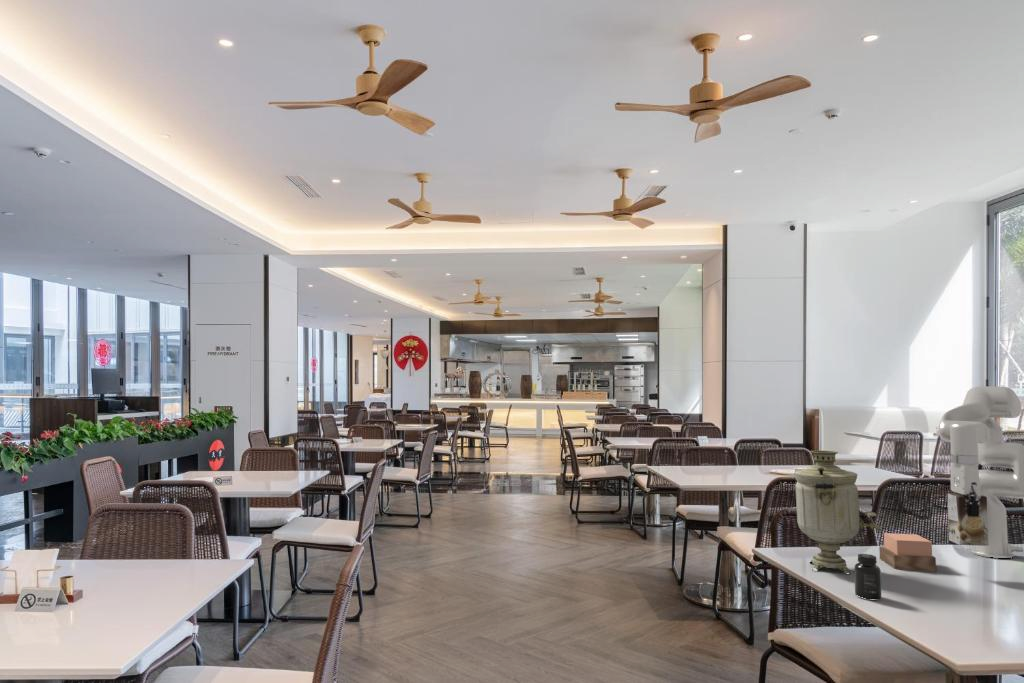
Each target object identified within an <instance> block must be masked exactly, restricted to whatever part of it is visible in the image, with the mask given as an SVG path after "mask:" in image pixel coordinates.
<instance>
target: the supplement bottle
mask: <svg viewBox="0 0 1024 683" xmlns="http://www.w3.org/2000/svg"><path fill="white" fill-rule="evenodd" d="M877 563H878V561H877V556H876V555H873V554H869V553H858V554H857V563H855V565H854V567H853V568H854V572H853V573H854V593H855V596H856V595H858V596H860V597H863V598H866V599H880V600H881V599H882V575H881V574H882V572H881V568H880V567H879V565H877ZM866 599H865V600H866Z"/></svg>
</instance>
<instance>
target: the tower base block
mask: <svg viewBox="0 0 1024 683" xmlns="http://www.w3.org/2000/svg"><path fill="white" fill-rule="evenodd" d="M878 548H879V550H878V551H879V560H880V559H881V560H880V561H882V562H883V561H884V562H883V563H885V564H887V566H890V567H891V568H892V569H894V570H905V569H909V570H910V571H923V570H928V571H927V572H937V562H936V561H937V558H936V557H935V556H934V555H932V557H930V556H909V555H897V554H895V553H893V552H892V551H890V550H888V549H887V548H885V547H884V546H882V545H879V547H878ZM909 570H908V571H909Z"/></svg>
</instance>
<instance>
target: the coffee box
mask: <svg viewBox="0 0 1024 683" xmlns="http://www.w3.org/2000/svg"><path fill="white" fill-rule="evenodd" d="M969 494H970V493H969ZM970 498H971V499H972V497H970ZM967 504H969V503H968V500H967V496H964V495H961V494H958V493H954V492H947V512H948V513H947V516H948V541H950V542H952V543H955V544H956V545H958V546H976V545H977V546H988V545H989V544H988V518H987V497H986V496H983V495H981V498H980V501H979V517H969V516H968V515H967Z"/></svg>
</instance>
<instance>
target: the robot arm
mask: <svg viewBox="0 0 1024 683" xmlns="http://www.w3.org/2000/svg"><path fill="white" fill-rule="evenodd" d="M1022 409H1023V408H1022V402H1021V400H1020V398H1019V397H1018V395H1017V393H1016V392H1015V391H1014V390H1013V389H1012V388H1010V387H1007V386H987V385H986V386H985V385H984V386H974V387H972V388H970V389H969V390H968V391H966V395H965V398H964V399H963V403H962V404H961V405H959V406H956V407H954V408H952V409H949V410H947V411H946V412H945V413H944V414H943V415H942V416H941V419H940V421H939V424H938V428H937V429H938V436H939V438H940V440H942V441H944V442H948V443H950V461H951V464H950V465H951V467H950V490H951V491H952V493H958V494H961V495H964V496H967V500H968V503H969V504H967V515H968V516H969V517H979V501H980V498H981V495H983V496H986V497H987V518H988V544H989V545H988V546H977V545H975V546H976V547H972V548H971V553H972V554H974V555H977V556H980V557H985V558H990V557H993V558H992V559H998V558H1011V559H1013V558H1014V552H1016V553H1018V552H1019V553H1023V552H1024V547H1023V546H1019V545H1018V546H1017V545H1016V546H1015V545H1011V544H1010V543H1009V541H1008V520H1007V509H1006V506H1005V505H1004V504H1003V503H1002V501H1001V500H1000V499H999V498H1000V497H1001V498H1010V499H1011V498H1012V499H1024V445H1023V444H1022V443H1018V442H1009V441H1008V442H1007V441H1003V434H1004V433H1003V431H1004V430H1003V429H1002V426H1001V425H1000V424H999V422H997V421H996V420H995V419H994V418H1001V419H1003V418H1004V419H1005V418H1006V419H1015V418H1018V417H1019V416H1020V415H1021V413H1022ZM979 465H981V466H983V467H984V466H985V467H993V468H1005V469H1011V470H1012V471H1005V470H994V469H993V470H992V469H979ZM969 493H970V494H969ZM970 497H972V499H971V498H970ZM998 497H999V498H998ZM1012 557H1013V558H1012Z"/></svg>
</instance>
